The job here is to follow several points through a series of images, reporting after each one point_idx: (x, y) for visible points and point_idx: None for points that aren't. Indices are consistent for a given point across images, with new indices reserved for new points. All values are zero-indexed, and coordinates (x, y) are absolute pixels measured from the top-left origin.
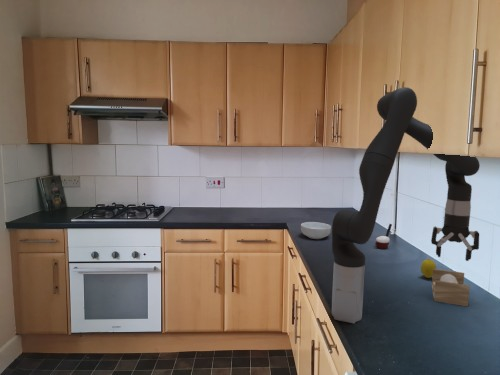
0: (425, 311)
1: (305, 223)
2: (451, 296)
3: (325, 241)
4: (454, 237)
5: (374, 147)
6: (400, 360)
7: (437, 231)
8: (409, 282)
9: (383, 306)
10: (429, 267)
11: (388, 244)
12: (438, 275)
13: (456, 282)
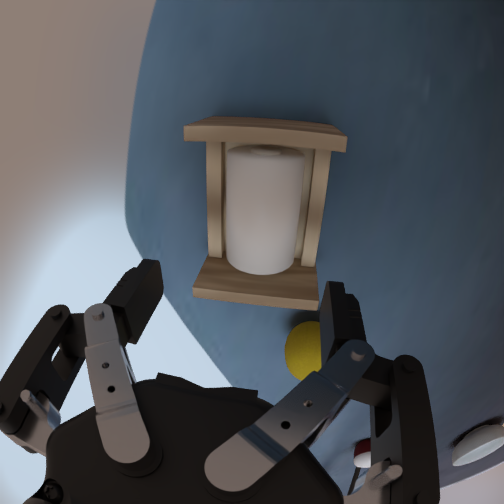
0: (375, 23)
1: (490, 451)
2: (268, 121)
3: (470, 425)
4: (202, 428)
5: None
6: None
7: (385, 485)
8: (384, 273)
9: (493, 48)
10: (314, 343)
11: (356, 451)
12: (295, 283)
13: (235, 194)
